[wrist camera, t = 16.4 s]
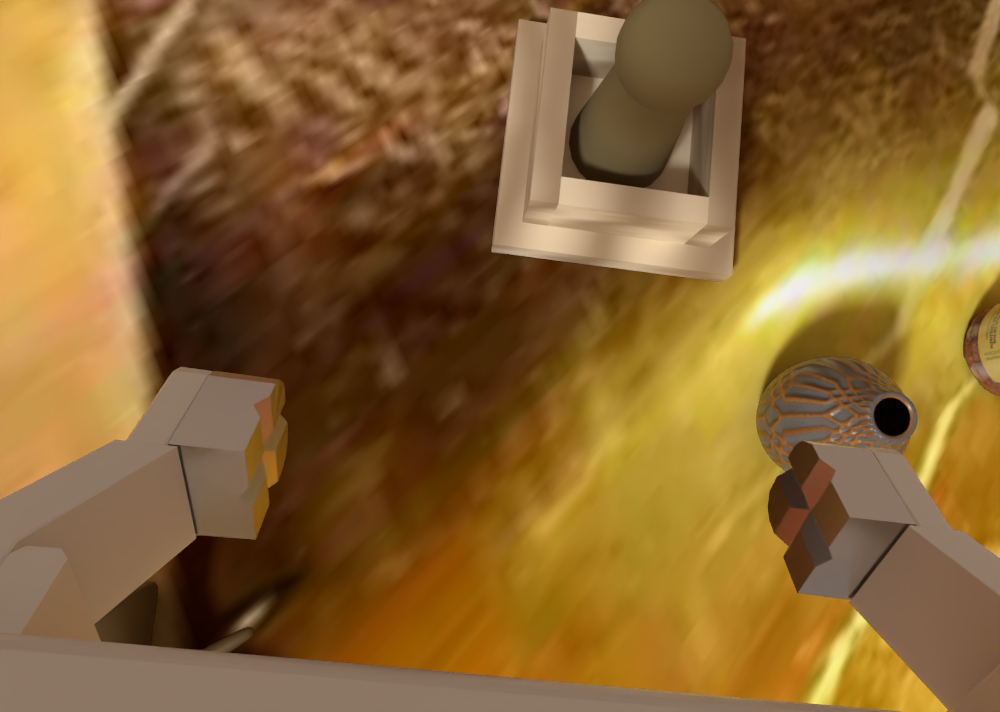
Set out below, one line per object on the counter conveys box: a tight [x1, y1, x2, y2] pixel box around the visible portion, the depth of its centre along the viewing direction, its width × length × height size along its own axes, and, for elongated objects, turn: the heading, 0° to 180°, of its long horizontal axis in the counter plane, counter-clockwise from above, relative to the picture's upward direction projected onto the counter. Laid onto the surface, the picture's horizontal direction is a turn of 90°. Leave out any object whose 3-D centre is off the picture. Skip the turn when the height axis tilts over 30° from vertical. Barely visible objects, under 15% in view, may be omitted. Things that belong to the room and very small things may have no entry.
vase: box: [756, 357, 917, 471], centre depth 35 cm, size 7×7×9 cm
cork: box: [569, 0, 734, 188], centre depth 34 cm, size 6×6×11 cm
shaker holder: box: [491, 8, 746, 282], centre depth 38 cm, size 14×14×5 cm
